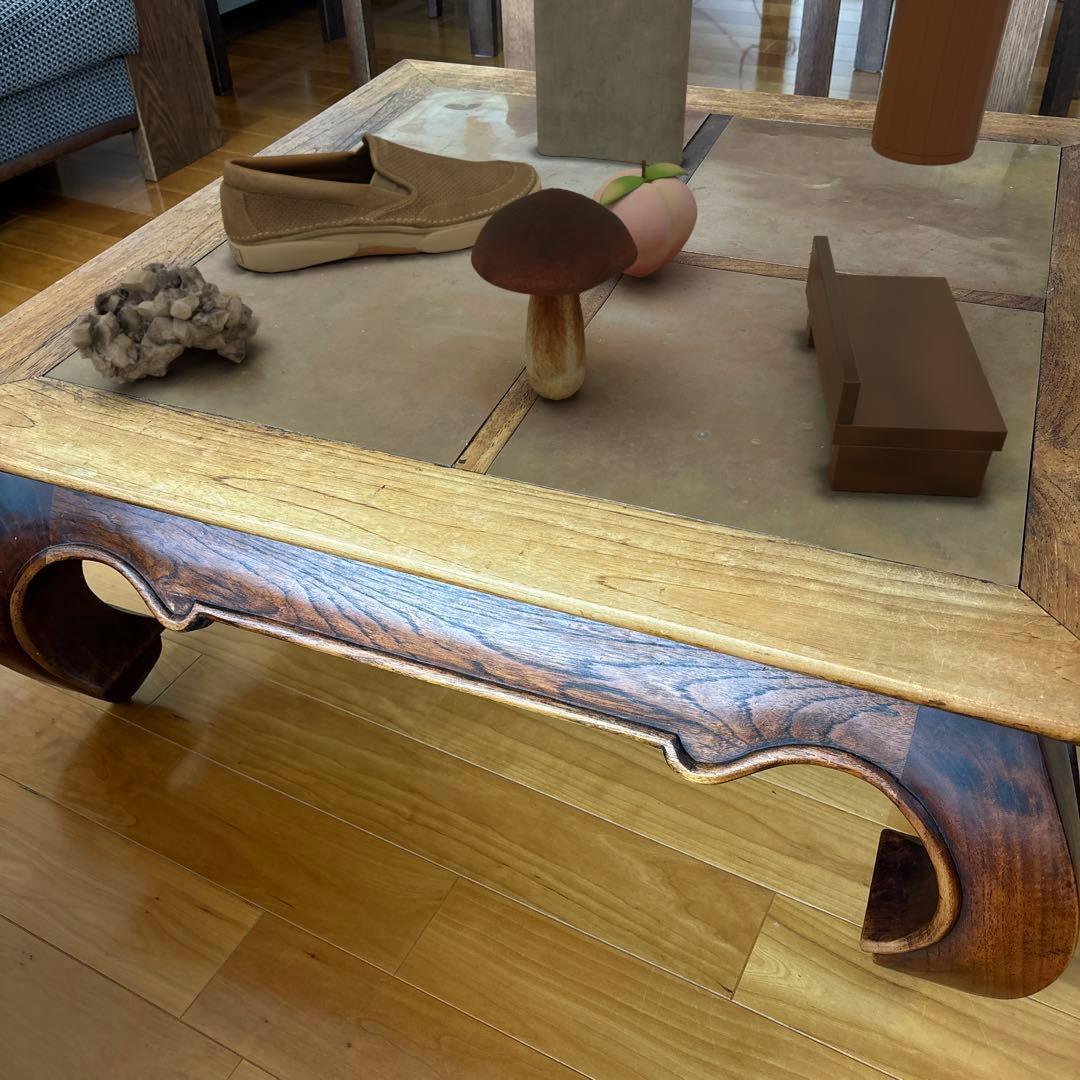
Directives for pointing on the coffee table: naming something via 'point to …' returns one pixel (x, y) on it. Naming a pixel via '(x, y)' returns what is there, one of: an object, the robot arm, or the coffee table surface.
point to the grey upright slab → (612, 78)
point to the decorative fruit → (651, 212)
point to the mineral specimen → (161, 322)
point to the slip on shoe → (361, 203)
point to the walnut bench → (899, 383)
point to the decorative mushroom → (553, 275)
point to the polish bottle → (937, 79)
